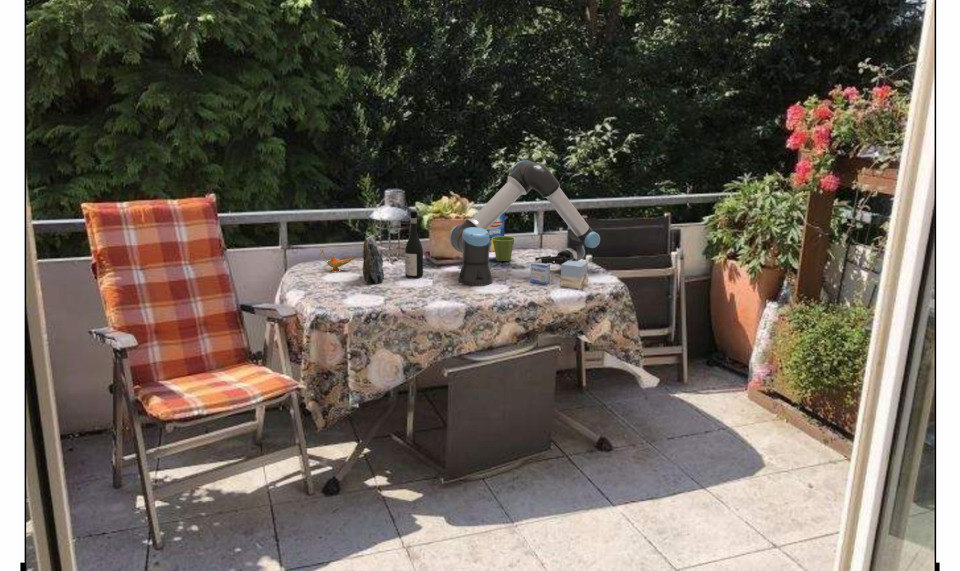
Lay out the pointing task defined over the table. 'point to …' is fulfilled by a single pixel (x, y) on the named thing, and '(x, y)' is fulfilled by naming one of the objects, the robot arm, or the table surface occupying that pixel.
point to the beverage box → (496, 230)
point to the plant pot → (503, 247)
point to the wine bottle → (414, 251)
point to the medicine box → (540, 273)
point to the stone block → (372, 261)
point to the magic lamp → (336, 261)
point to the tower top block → (574, 269)
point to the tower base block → (574, 281)
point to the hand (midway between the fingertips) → (548, 266)
